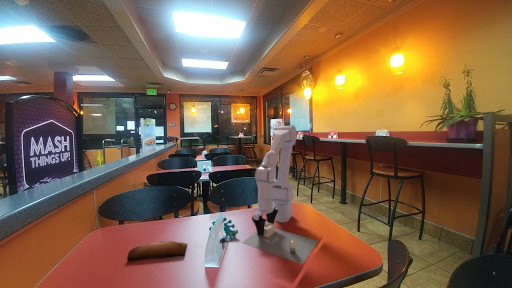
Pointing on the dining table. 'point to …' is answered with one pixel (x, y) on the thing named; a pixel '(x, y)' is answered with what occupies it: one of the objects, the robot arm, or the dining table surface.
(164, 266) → the dining table surface
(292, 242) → the piston
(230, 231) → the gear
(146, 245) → the sunglasses case
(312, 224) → the dining table surface
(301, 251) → the board
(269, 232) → the ring
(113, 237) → the dining table surface
